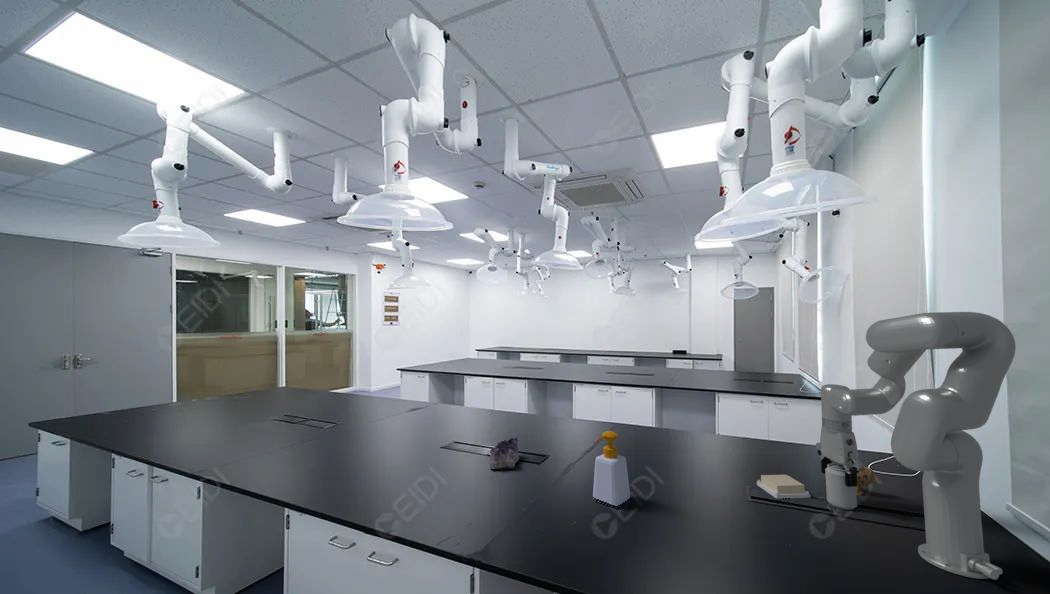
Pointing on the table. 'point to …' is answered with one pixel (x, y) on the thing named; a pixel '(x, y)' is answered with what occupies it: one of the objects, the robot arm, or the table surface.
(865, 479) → the lion figurine
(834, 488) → the can
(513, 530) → the table surface
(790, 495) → the tower base
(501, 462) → the geode
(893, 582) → the table surface
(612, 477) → the soap bottle
